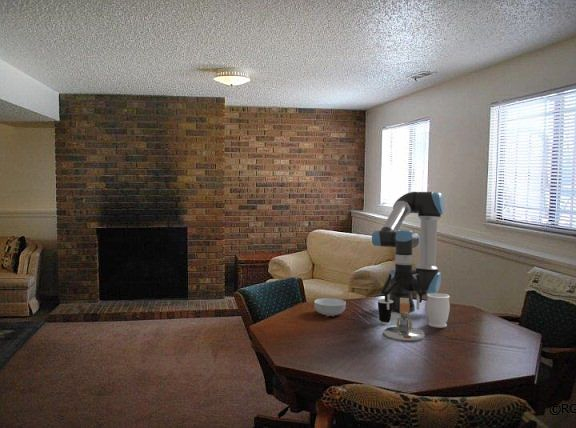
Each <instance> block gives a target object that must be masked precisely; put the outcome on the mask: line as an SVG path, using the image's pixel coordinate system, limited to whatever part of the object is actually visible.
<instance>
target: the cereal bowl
mask: <svg viewBox="0 0 576 428" xmlns="http://www.w3.org/2000/svg"><path fill="white" fill-rule="evenodd" d="M313 305H314V309H315V311H316V312H317V313H318V314H321V315H322V314H323V315H326V316H325V317H329V316H332V317H336V316H338V315H340V314H342V313H343V312H344V311H345V310H346V305H347V302H346V301H345V300H343V299H340V298H330V297H329V298H327V297H325V298H324V297H323V298H317V299H315V300H314V302H313ZM323 315H322V316H323ZM335 315H336V316H335Z"/></svg>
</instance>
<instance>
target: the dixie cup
mask: <svg viewBox="0 0 576 428" xmlns="http://www.w3.org/2000/svg"><path fill="white" fill-rule="evenodd" d="M376 301H377V307H378V308H377V309H378V310H377V311H378V321H379V323H380V324H382V325H389V324H390V323H391V321H392V312H393V311H392V305H393V301H392V300H389V310H387V302H385V298H379V299H377V300H376Z"/></svg>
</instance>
